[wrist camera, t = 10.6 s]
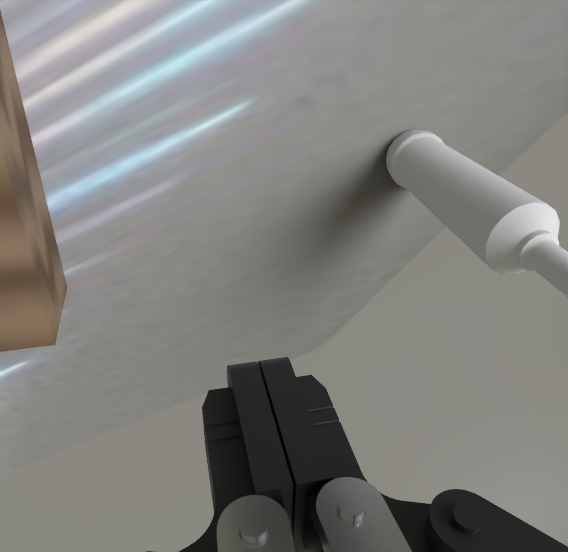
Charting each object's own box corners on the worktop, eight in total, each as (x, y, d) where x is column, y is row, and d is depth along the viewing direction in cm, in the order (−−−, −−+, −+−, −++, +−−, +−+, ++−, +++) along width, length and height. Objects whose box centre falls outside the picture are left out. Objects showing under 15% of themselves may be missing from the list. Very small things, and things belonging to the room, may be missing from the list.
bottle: (386, 128, 45) (598, 281, 24) (441, 124, 46) (690, 267, 25) (380, 185, 47) (566, 365, 27) (432, 180, 48) (650, 350, 28)
